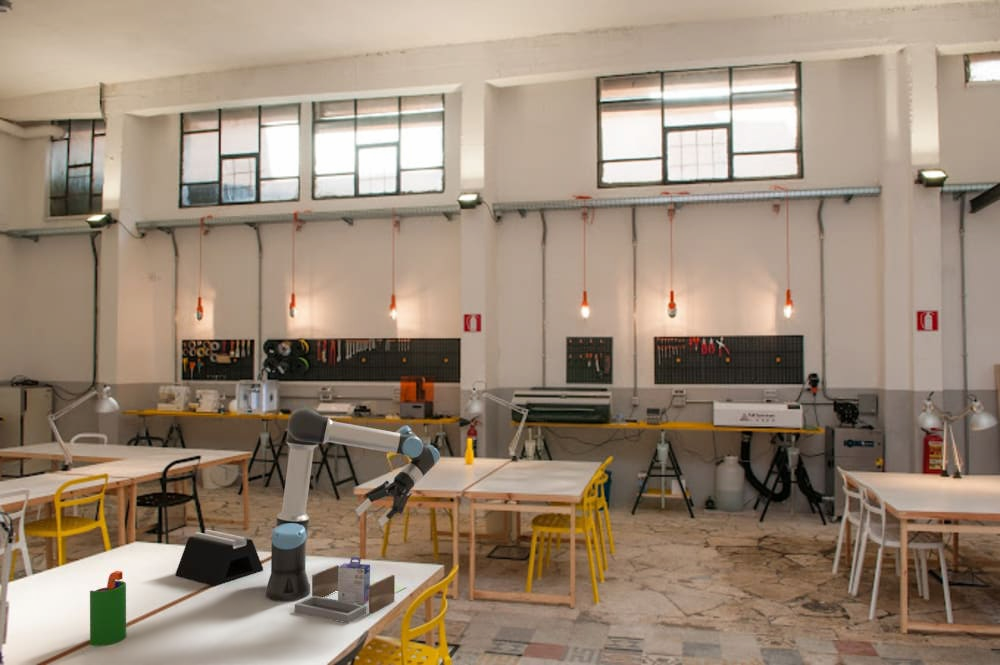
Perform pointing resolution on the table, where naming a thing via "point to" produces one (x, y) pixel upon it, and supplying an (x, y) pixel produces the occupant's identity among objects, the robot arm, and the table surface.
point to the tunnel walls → (378, 591)
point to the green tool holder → (108, 612)
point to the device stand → (218, 558)
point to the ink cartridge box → (354, 582)
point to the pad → (397, 588)
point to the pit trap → (330, 609)
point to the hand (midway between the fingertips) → (368, 518)
